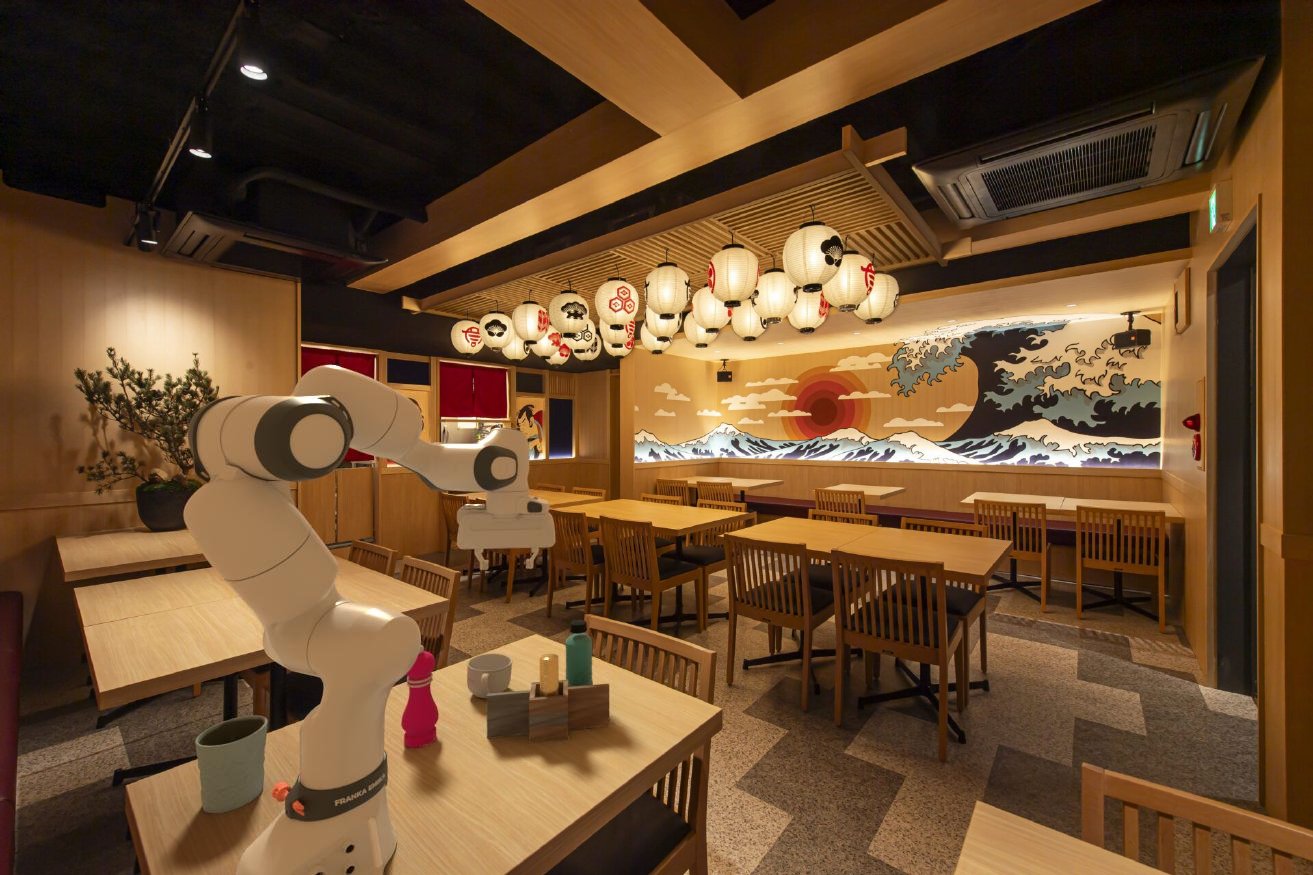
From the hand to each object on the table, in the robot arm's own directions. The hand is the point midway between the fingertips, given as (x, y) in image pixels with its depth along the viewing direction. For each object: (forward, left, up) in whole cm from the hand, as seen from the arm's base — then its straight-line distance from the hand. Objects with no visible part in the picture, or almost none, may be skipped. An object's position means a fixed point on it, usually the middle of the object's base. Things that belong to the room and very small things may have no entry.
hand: (507, 568), depth 113 cm
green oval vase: (-41, +25, -36) cm, 60 cm away
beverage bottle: (+18, -4, -36) cm, 40 cm away
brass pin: (+6, -6, -36) cm, 37 cm away
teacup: (+8, +18, -36) cm, 41 cm away
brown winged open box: (+6, -6, -36) cm, 37 cm away
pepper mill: (-12, +14, -36) cm, 40 cm away
